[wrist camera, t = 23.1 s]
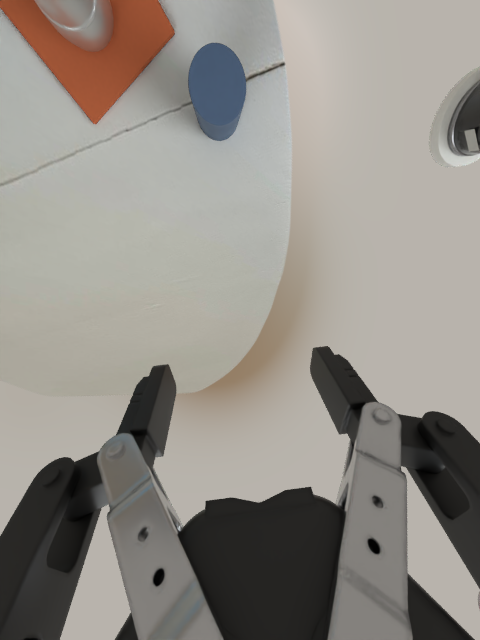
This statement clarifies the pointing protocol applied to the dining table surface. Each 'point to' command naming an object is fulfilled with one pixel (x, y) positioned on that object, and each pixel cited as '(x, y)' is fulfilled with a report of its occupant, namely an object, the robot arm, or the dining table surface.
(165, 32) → the terracotta mat
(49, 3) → the silver metal bottle
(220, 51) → the blue canister
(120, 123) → the dining table surface
